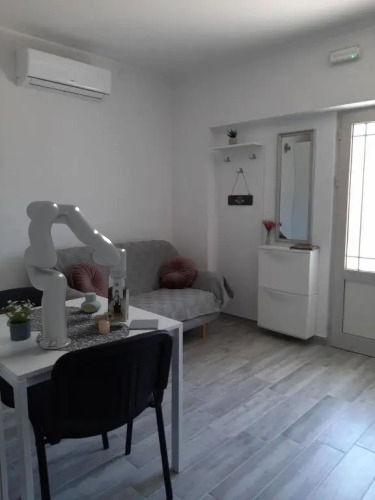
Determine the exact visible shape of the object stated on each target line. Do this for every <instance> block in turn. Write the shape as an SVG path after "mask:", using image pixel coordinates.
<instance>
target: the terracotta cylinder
mask: <svg viewBox="0 0 375 500" xmlns="http://www.w3.org/2000/svg"><path fill="white" fill-rule="evenodd" d="M110 323H111V322H110V321H109V320H101V321H99V328H98V333H99V334H103V335H106V334H109V333H110V332H111V328H110V327H111V325H110Z"/></svg>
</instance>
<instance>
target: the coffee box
mask: <svg viewBox="0 0 375 500" xmlns="http://www.w3.org/2000/svg"><path fill="white" fill-rule="evenodd" d="M118 294H119V292H118ZM118 298H119V297H118ZM129 300H130V287H128V286H125V287H124V289H123V299H122V298H120V305H121V313H114V299H113V286H111V287H110V288H109V287H108V289H107V309H108V320H109V321H110V323H111V322H113V323H127V321H128V320H129V312H130V311H129V307H130V306H129V305H130V303H129V302H130V301H129Z"/></svg>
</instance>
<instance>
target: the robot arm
mask: <svg viewBox="0 0 375 500" xmlns="http://www.w3.org/2000/svg"><path fill="white" fill-rule="evenodd" d="M26 215H27V217H28V218H29V220H30V223H29V225H28V230H27V233H28V234H27V235H28V239H29V244H30V245H29V246H27V247H26V248H25V250H24V253H23V262H24V265H25V269H26V272H27V275H28V278H29V281H30V283H31V285H32V287H34V288H35V289H37V290H39V291H42V292H43V293H42V298H41V306H40V307H41V321H42V340H41V341H40V342H39V347H40V348H41V349H43V350H58V349H59V350H60V349H63V348H66V347H68V346H70V345H71V343H72V339H71V338H70V337H68V330H67V328H68V327H67V326H68V325H67V306H66V305H67V304H66V303H67V301H66V298H67V297H66V295H67V294H66V292H67V287H68V280H67V277H66V276H65V275H64V274H63V273H62V272H60V271H59V270H56V269H52V268H53V267H55V266H56V264H57V263H58V255H57V250H56V249H55V245H54V240H53V237H52V227H53V224H60V225H61V224H62V225H66V226H67V228H69V231H71V232H72V233H73V235H74V237H76V238H77V240H78V241H79V242H80V243H82V244H84V245H86V246H87V247H90V248H92V249H94V250H95V251H94V252H93V254H92V260H93V262H94V263H96V264H97V265H99V266H106V267H109V269H110V270H109V271H110V272H109V276H110V278H113V299H114V313H121V305H120V298H122V299H123V289H124V287H126V285H125V279H126V278H127V250H126V249H125V248H119V247H118V248H117V247H116V245H114V243H113V242H112V241H110V239H108V238H107V236H104V234H102V233H101V232H100V231H98V230H97V229H96V228H95V227H94V225H93V224H92V223H91V222H90V221H89V219H88V218H87V216H86V215H85V214H84V212H83V211H82V210H81V208H79V206H77V205H76V204H67V203H66V204H59V203H56V202H53V201H50V200H35V201H32V202H30V203H28V205H27V207H26ZM118 292H119V294H118ZM118 297H119V298H118Z"/></svg>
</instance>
